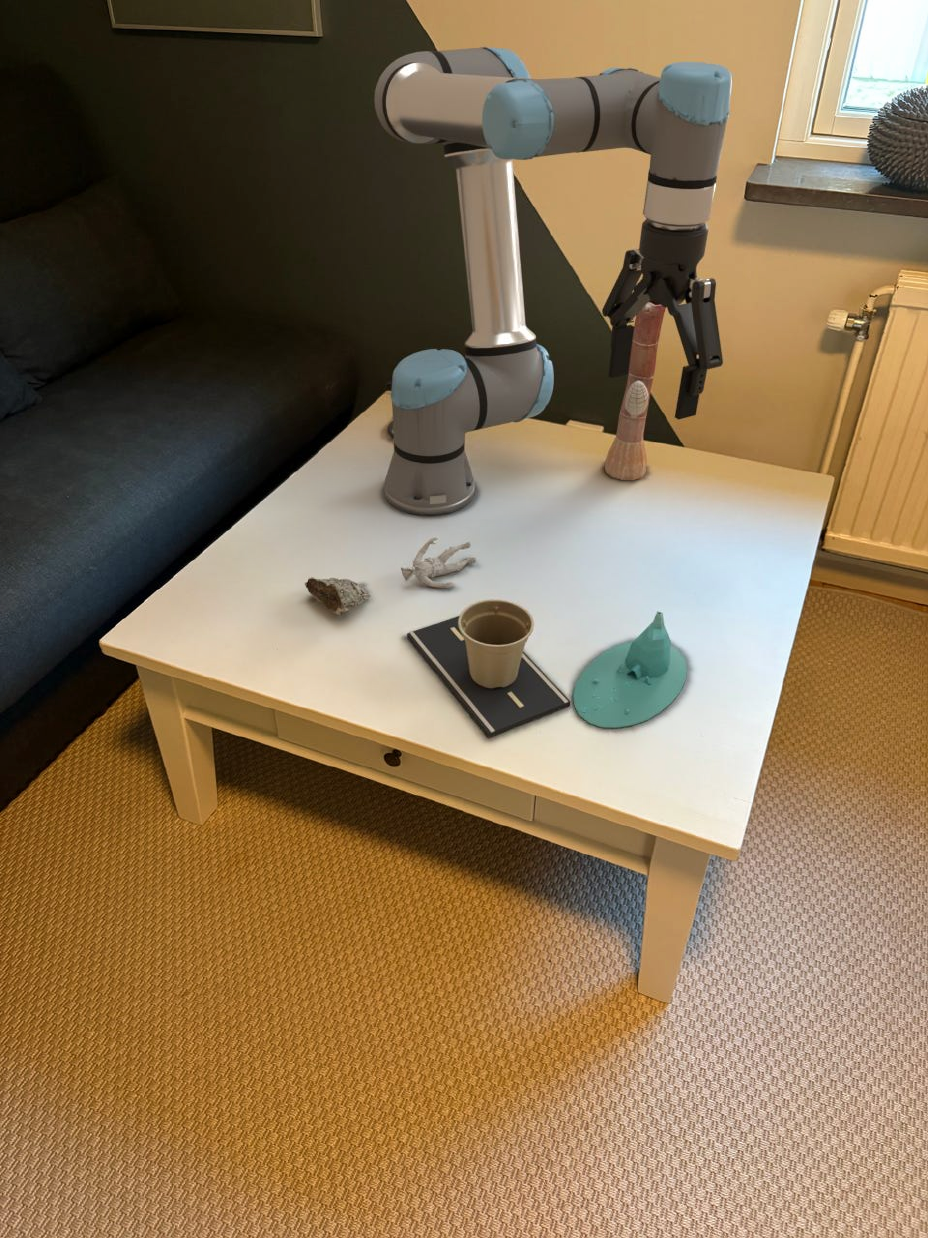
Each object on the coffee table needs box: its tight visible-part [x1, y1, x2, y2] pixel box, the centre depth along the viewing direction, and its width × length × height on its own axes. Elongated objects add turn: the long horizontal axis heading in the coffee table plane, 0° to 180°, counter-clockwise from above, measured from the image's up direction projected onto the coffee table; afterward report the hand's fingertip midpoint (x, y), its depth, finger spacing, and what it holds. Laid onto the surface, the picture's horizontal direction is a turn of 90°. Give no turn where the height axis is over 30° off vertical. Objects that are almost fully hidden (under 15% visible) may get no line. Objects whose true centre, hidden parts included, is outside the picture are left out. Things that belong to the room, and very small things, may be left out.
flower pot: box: [458, 598, 535, 688], centre depth 121 cm, size 9×9×9 cm
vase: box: [604, 300, 667, 481], centre depth 160 cm, size 11×7×30 cm
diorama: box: [572, 611, 688, 729], centre depth 121 cm, size 12×20×9 cm, turn 141°
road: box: [406, 615, 571, 739], centre depth 125 cm, size 22×12×1 cm, turn 30°
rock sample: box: [304, 576, 371, 616], centre depth 135 cm, size 10×8×9 cm
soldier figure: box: [400, 537, 477, 589], centre depth 141 cm, size 8×5×12 cm
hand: (650, 395), depth 121 cm, fingers open, 13 cm apart
